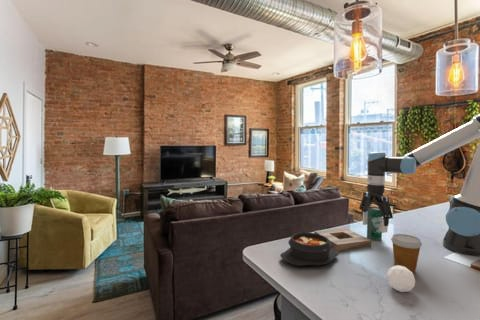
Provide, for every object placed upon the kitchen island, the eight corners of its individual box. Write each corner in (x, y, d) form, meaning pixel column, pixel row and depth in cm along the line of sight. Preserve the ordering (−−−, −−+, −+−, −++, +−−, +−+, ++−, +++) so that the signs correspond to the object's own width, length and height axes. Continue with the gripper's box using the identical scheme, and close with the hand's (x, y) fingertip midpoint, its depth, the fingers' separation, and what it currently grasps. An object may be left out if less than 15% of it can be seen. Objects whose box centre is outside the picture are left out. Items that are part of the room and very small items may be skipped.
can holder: (371, 246, 117) (371, 240, 117) (336, 251, 112) (336, 244, 112) (345, 233, 135) (345, 227, 134) (314, 236, 130) (314, 231, 130)
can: (375, 241, 123) (376, 210, 122) (364, 237, 129) (365, 207, 128) (383, 239, 126) (385, 209, 125) (372, 235, 131) (373, 206, 130)
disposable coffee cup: (425, 277, 90) (427, 243, 90) (395, 274, 92) (396, 241, 92) (413, 265, 100) (414, 234, 99) (386, 262, 102) (387, 232, 101)
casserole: (301, 276, 92) (301, 253, 91) (270, 256, 108) (271, 236, 107) (349, 261, 103) (350, 240, 103) (315, 245, 120) (316, 227, 119)
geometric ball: (396, 300, 82) (382, 281, 81) (393, 280, 89) (380, 262, 88) (422, 296, 78) (408, 276, 77) (417, 275, 84) (404, 257, 84)
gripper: (352, 180, 136) (351, 221, 137) (389, 188, 113) (388, 237, 115) (364, 180, 138) (363, 220, 139) (403, 187, 115) (401, 235, 117)
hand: (374, 228), depth 127 cm, fingers open, 11 cm apart
